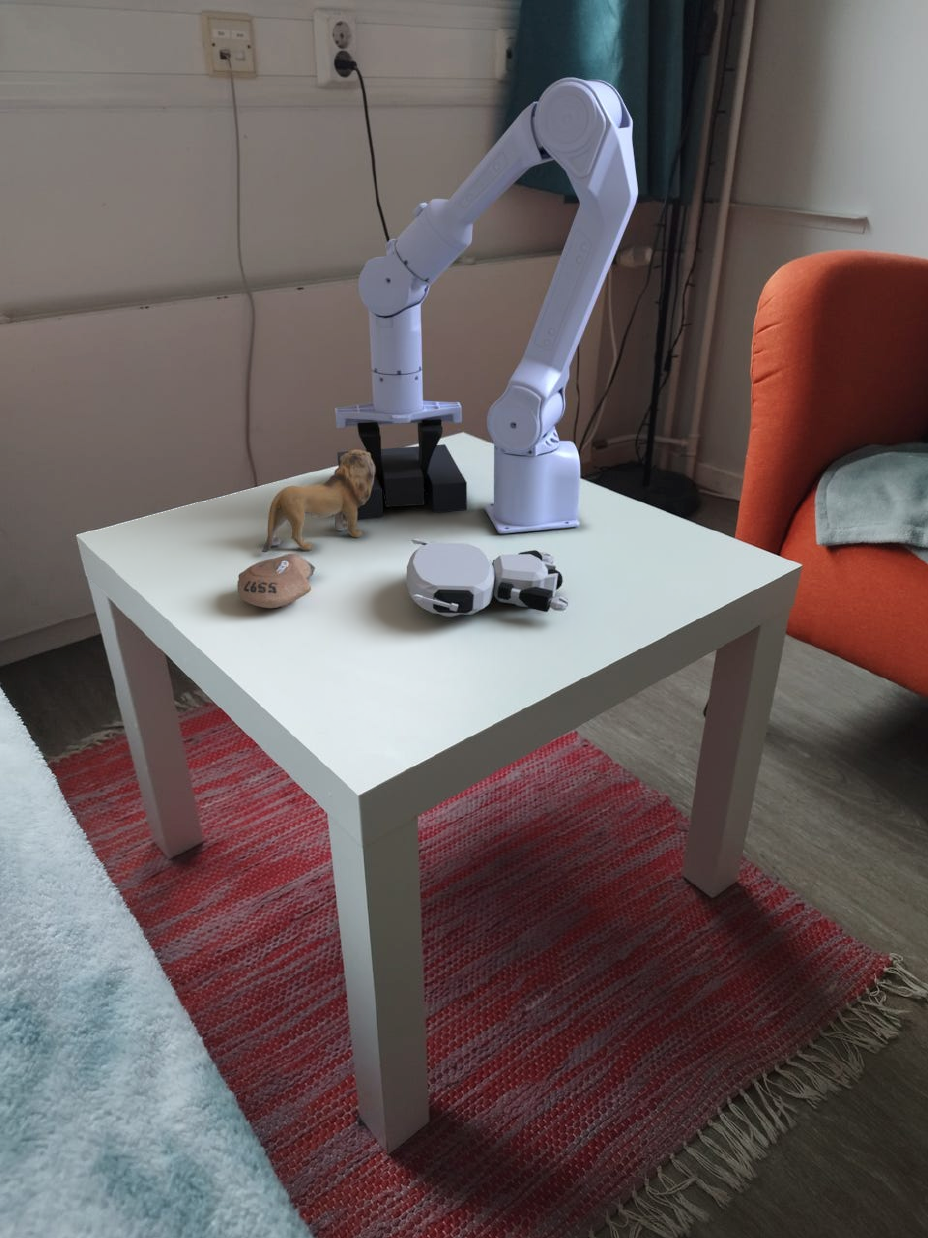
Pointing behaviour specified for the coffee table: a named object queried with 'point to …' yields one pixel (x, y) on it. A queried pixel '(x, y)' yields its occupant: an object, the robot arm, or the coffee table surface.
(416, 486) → the black block
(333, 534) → the coffee table surface
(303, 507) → the lion figurine
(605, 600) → the coffee table surface
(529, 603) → the robot toy
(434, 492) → the notched pad
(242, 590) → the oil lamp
